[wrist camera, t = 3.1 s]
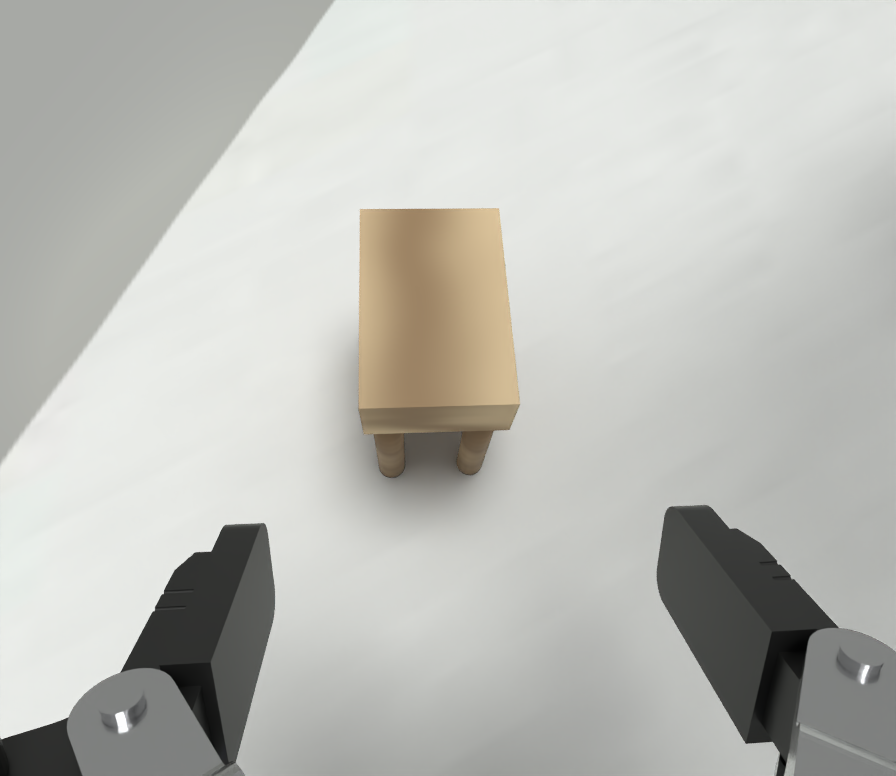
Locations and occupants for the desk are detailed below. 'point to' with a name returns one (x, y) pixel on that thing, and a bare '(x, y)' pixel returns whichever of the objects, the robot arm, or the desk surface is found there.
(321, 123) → the desk surface
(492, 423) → the oak stool
